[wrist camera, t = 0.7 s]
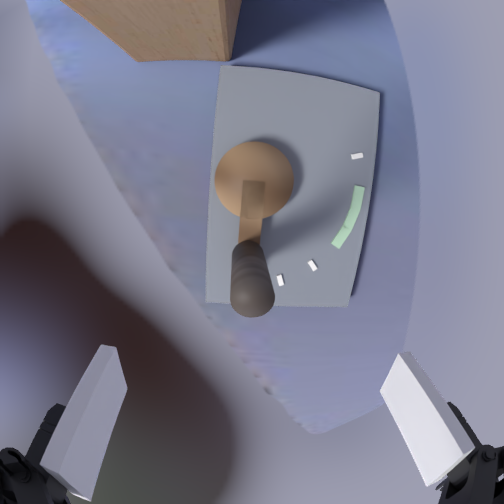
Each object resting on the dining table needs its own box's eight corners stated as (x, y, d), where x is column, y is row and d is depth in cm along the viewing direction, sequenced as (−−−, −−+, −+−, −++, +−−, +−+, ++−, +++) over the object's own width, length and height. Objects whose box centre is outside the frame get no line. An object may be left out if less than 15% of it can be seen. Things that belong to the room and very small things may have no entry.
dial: (218, 139, 23) (207, 128, 14) (295, 146, 24) (326, 141, 15) (210, 292, 28) (200, 348, 19) (277, 295, 29) (293, 352, 20)
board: (221, 69, 22) (220, 64, 21) (373, 94, 24) (380, 92, 22) (206, 295, 30) (205, 303, 29) (343, 300, 31) (347, 307, 30)
